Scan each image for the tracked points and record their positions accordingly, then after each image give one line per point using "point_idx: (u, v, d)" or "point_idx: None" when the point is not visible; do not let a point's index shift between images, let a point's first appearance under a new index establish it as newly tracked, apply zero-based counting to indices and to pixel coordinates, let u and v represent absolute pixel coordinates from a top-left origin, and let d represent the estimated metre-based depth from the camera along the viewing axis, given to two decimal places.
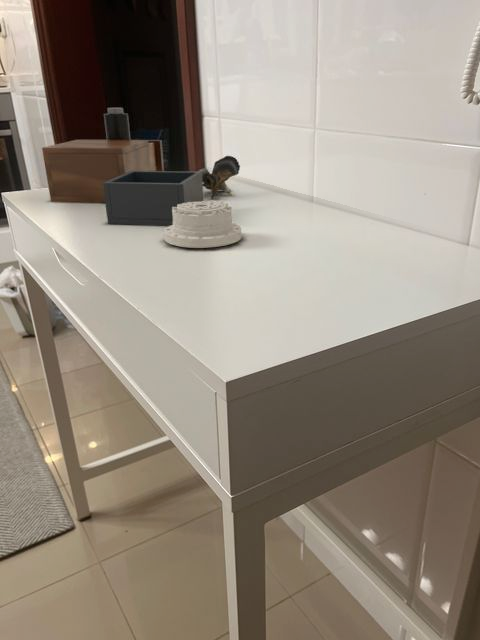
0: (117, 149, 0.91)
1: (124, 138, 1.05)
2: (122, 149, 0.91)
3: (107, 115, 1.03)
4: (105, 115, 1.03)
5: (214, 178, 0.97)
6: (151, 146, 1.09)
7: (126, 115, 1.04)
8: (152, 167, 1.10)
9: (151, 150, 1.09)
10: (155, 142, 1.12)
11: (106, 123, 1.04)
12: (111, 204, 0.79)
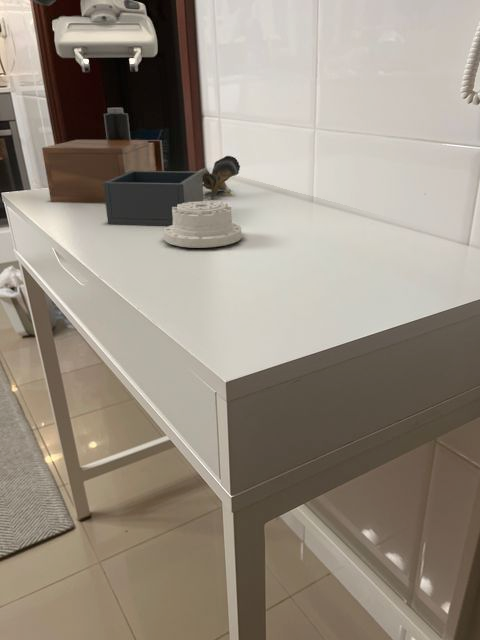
0: (117, 149, 0.91)
1: (124, 138, 1.05)
2: (122, 149, 0.91)
3: (107, 115, 1.03)
4: (105, 115, 1.03)
5: (214, 178, 0.97)
6: (151, 146, 1.09)
7: (126, 115, 1.04)
8: (152, 167, 1.10)
9: (151, 150, 1.09)
10: (155, 142, 1.12)
11: (106, 123, 1.04)
12: (111, 204, 0.79)
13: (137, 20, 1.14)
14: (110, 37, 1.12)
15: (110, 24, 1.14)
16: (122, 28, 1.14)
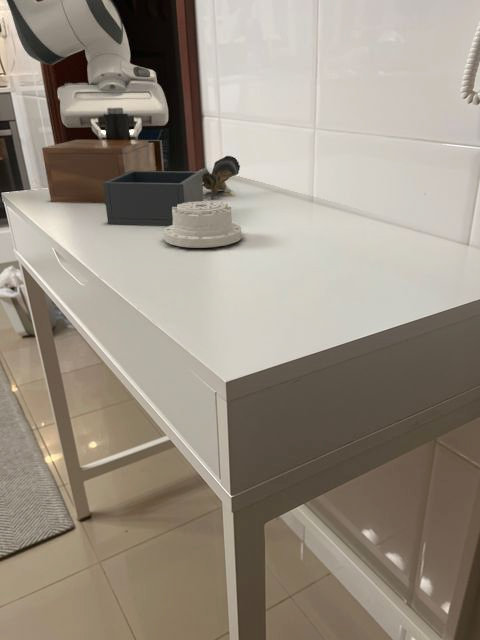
0: (117, 149, 0.91)
1: (124, 138, 1.05)
2: (122, 149, 0.91)
3: (107, 115, 1.03)
4: (105, 115, 1.03)
5: (214, 178, 0.97)
6: (151, 146, 1.09)
7: (126, 115, 1.04)
8: (152, 167, 1.10)
9: (151, 150, 1.09)
10: (155, 142, 1.12)
11: (106, 123, 1.04)
12: (111, 204, 0.79)
13: (147, 88, 1.09)
14: (119, 107, 1.06)
15: (119, 92, 1.08)
16: (131, 97, 1.08)
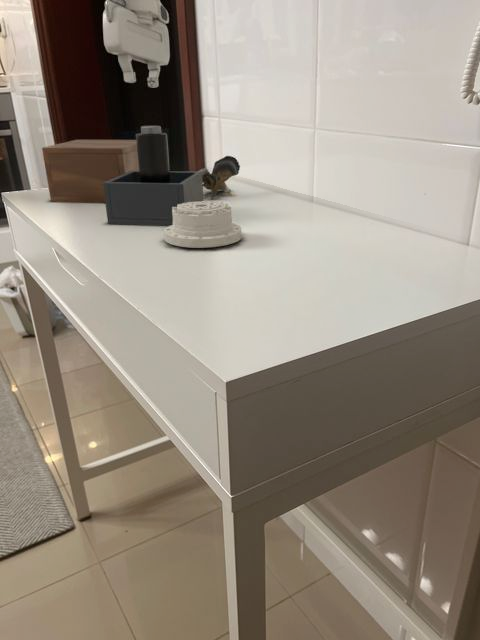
0: (117, 149, 0.91)
1: (162, 165, 0.81)
2: (122, 149, 0.91)
3: (141, 136, 0.79)
4: (138, 136, 0.79)
5: (214, 178, 0.97)
6: None
7: (165, 136, 0.80)
8: None
9: None
10: None
11: (139, 146, 0.79)
12: (111, 204, 0.79)
13: (161, 30, 1.14)
14: (149, 49, 1.10)
15: (146, 28, 1.10)
16: (153, 37, 1.12)
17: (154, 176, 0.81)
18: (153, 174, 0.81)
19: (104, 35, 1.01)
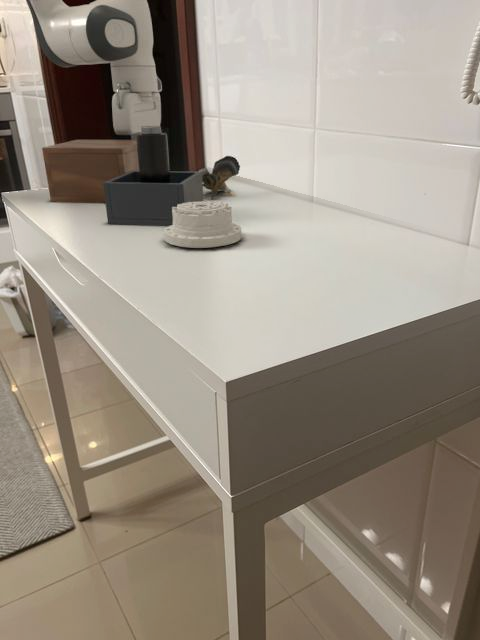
0: (117, 149, 0.91)
1: (162, 165, 0.81)
2: (122, 149, 0.91)
3: (141, 136, 0.79)
4: (138, 136, 0.79)
5: (214, 178, 0.97)
6: None
7: (165, 136, 0.80)
8: None
9: None
10: None
11: (139, 146, 0.79)
12: (111, 204, 0.79)
13: (155, 99, 1.21)
14: (148, 122, 1.17)
15: (145, 102, 1.16)
16: (149, 108, 1.18)
17: (154, 176, 0.81)
18: (153, 174, 0.81)
19: (114, 120, 1.08)
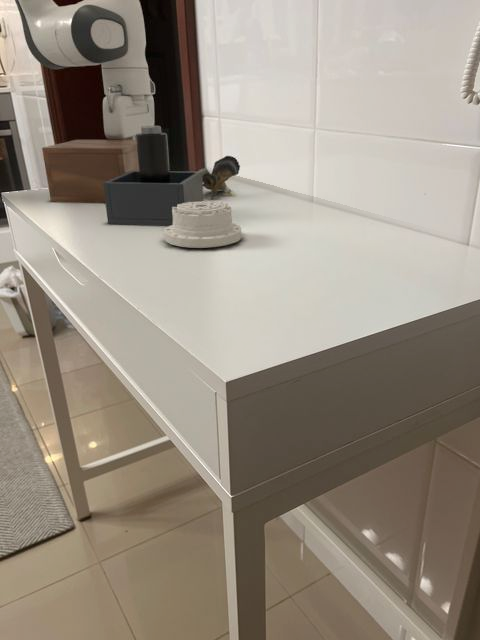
0: (117, 149, 0.91)
1: (162, 165, 0.81)
2: (122, 149, 0.91)
3: (141, 136, 0.79)
4: (138, 136, 0.79)
5: (214, 178, 0.97)
6: None
7: (165, 136, 0.80)
8: None
9: None
10: None
11: (139, 146, 0.79)
12: (111, 204, 0.79)
13: (148, 102, 1.17)
14: (140, 126, 1.13)
15: (138, 106, 1.12)
16: (142, 111, 1.14)
17: (154, 176, 0.81)
18: (153, 174, 0.81)
19: (105, 124, 1.04)
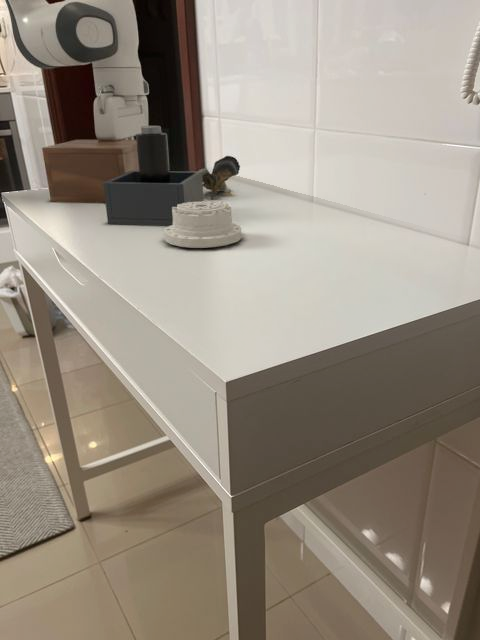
0: (117, 149, 0.91)
1: (162, 165, 0.81)
2: (122, 149, 0.91)
3: (141, 136, 0.79)
4: (138, 136, 0.79)
5: (214, 178, 0.97)
6: None
7: (165, 136, 0.80)
8: None
9: None
10: None
11: (139, 146, 0.79)
12: (111, 204, 0.79)
13: (142, 102, 1.13)
14: (133, 127, 1.09)
15: (131, 107, 1.08)
16: (135, 112, 1.11)
17: (154, 176, 0.81)
18: (153, 174, 0.81)
19: (96, 126, 1.00)
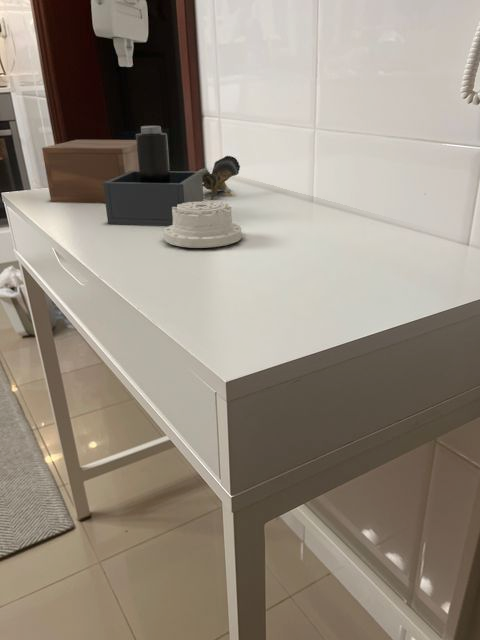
0: (117, 149, 0.91)
1: (162, 165, 0.81)
2: (122, 149, 0.91)
3: (141, 136, 0.79)
4: (138, 136, 0.79)
5: (214, 178, 0.97)
6: None
7: (165, 136, 0.80)
8: None
9: None
10: None
11: (139, 146, 0.79)
12: (111, 204, 0.79)
13: (141, 6, 1.09)
14: (132, 29, 1.06)
15: (130, 7, 1.05)
16: (135, 15, 1.07)
17: (154, 176, 0.81)
18: (153, 174, 0.81)
19: (93, 18, 0.96)
